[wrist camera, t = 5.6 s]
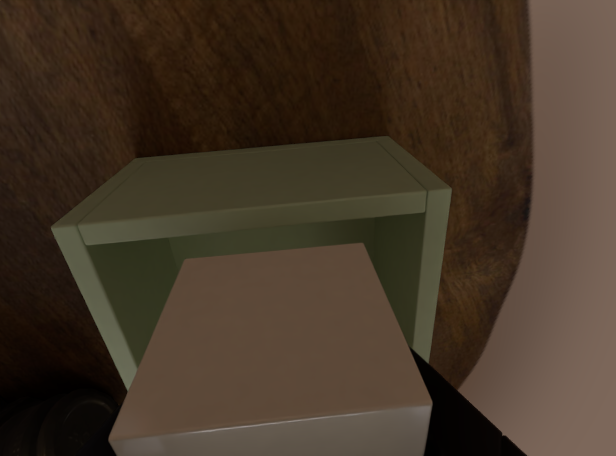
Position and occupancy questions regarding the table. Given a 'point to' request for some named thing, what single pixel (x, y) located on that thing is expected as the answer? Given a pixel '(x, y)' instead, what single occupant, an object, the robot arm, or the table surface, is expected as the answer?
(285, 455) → the block
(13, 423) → the film camera
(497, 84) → the table surface
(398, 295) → the chest
